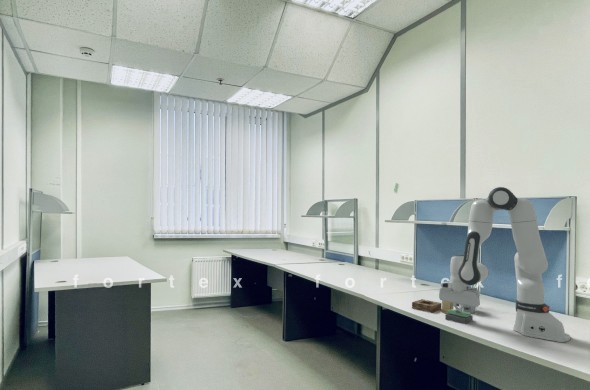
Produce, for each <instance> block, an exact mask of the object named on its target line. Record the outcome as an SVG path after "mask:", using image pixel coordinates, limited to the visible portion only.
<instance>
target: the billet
mask: <svg viewBox="0 0 590 390" xmlns="http://www.w3.org/2000/svg"><path fill="white" fill-rule="evenodd" d="M451 309H455V307H454V305H453V302H448V301H443V300H441V312H442V314H445V315H446V314H448V313H447V311H448V310H451Z"/></svg>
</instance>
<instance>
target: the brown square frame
mask: <svg viewBox="0 0 590 390" xmlns="http://www.w3.org/2000/svg"><path fill="white" fill-rule="evenodd" d="M411 309H414V310H418V311H423V312H427V313H434V312H437V311H440V310H442V302H437V301H433V300H428V299H423V298H422V299H418V300H415V301H412V302H411Z"/></svg>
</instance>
